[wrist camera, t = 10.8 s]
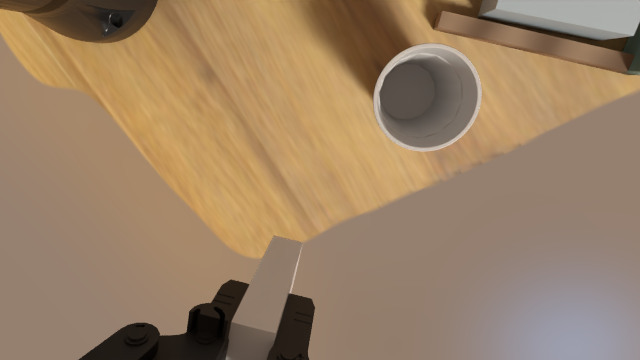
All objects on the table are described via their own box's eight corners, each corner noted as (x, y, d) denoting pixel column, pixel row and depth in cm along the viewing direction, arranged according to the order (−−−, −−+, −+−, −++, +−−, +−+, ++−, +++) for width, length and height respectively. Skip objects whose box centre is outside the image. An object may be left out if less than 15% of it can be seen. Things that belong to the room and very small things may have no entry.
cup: (455, 107, 39) (498, 121, 27) (387, 141, 40) (400, 168, 29) (424, 37, 37) (456, 21, 26) (354, 75, 39) (355, 77, 27)
